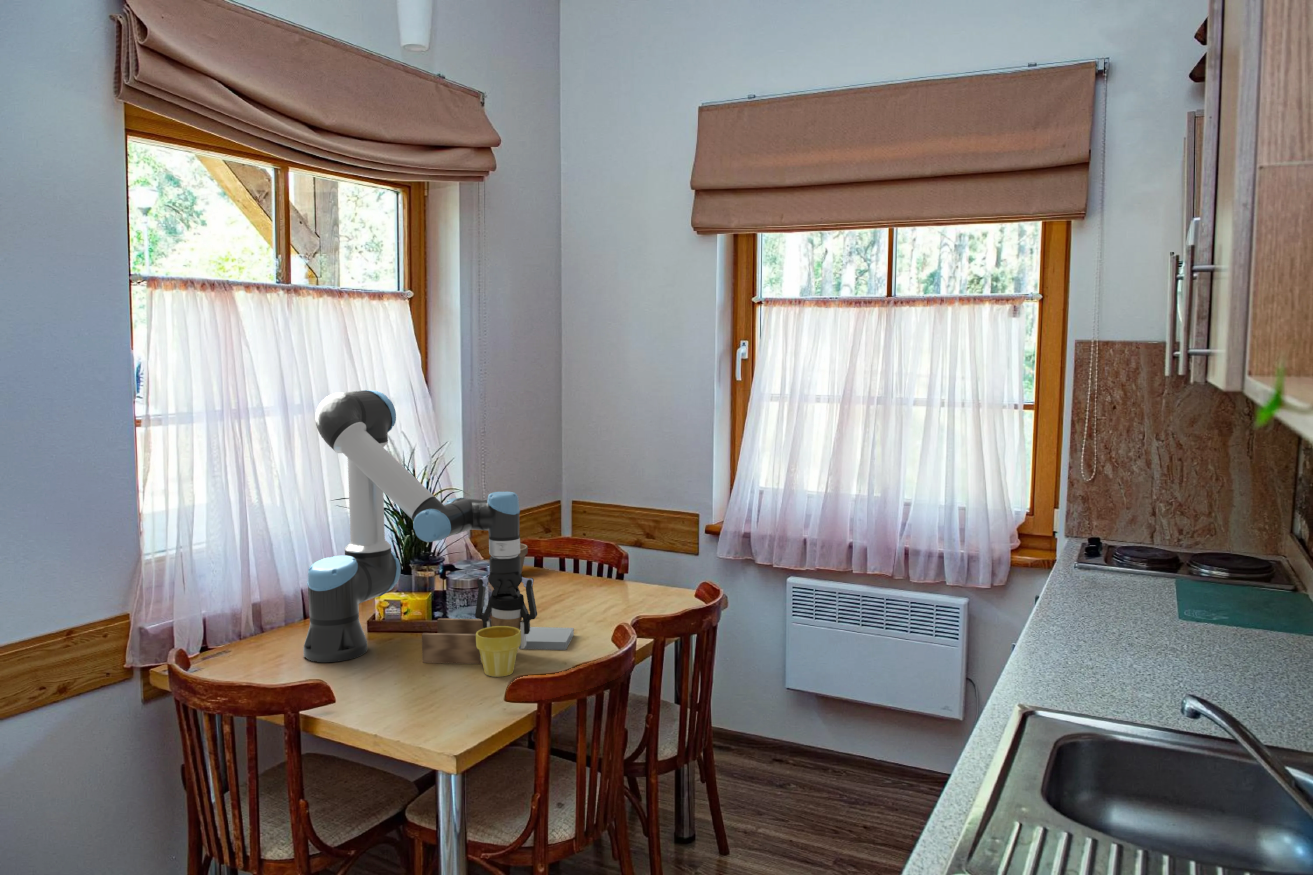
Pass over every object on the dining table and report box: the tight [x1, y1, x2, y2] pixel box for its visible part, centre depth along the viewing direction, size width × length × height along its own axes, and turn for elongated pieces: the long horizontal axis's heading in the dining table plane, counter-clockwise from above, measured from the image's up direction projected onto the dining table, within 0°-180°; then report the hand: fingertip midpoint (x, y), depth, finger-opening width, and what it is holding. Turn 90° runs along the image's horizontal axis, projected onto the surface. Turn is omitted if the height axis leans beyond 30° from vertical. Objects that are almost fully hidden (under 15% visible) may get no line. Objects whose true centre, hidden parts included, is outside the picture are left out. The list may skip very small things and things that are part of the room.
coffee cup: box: [490, 593, 526, 631], centre depth 235 cm, size 8×8×15 cm
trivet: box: [518, 626, 575, 651], centre depth 246 cm, size 12×12×2 cm
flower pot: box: [518, 542, 529, 574], centre depth 314 cm, size 12×11×10 cm
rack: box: [421, 617, 483, 665], centre depth 237 cm, size 14×13×7 cm
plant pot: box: [476, 626, 521, 678], centre depth 223 cm, size 10×10×10 cm
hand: (507, 645), depth 236 cm, fingers closed on coffee cup, 8 cm apart
